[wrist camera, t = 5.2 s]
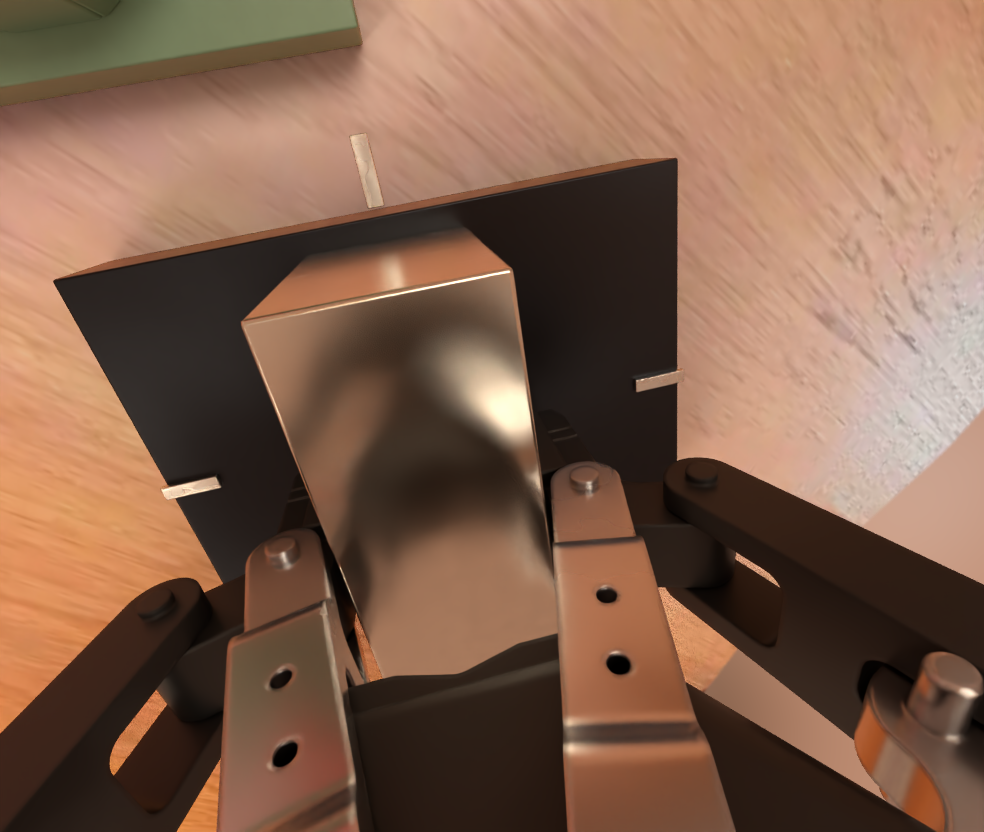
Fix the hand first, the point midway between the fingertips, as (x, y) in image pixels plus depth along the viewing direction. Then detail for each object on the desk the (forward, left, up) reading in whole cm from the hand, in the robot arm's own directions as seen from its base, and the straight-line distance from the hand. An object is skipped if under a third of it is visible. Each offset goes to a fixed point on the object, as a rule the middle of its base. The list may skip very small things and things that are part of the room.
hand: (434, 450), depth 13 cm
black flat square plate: (0, 0, -3) cm, 3 cm away
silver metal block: (0, 0, -1) cm, 1 cm away
